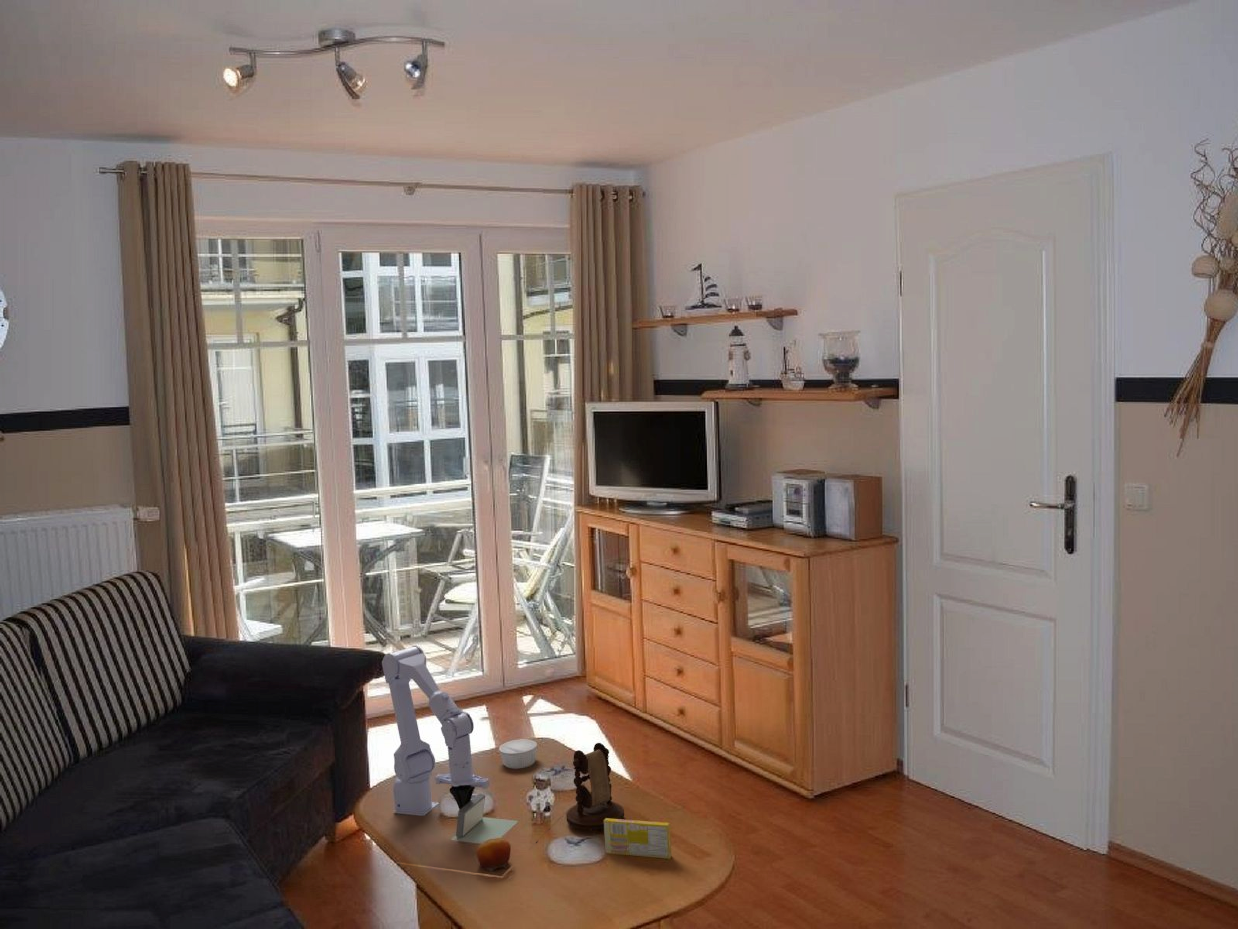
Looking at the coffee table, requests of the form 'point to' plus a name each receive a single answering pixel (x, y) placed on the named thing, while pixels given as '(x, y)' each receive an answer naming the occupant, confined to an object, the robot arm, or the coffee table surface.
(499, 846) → the fruit
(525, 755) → the ramekin
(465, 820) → the slate tile
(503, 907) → the coffee table surface
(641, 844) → the candy box
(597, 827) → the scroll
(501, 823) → the felt mat
